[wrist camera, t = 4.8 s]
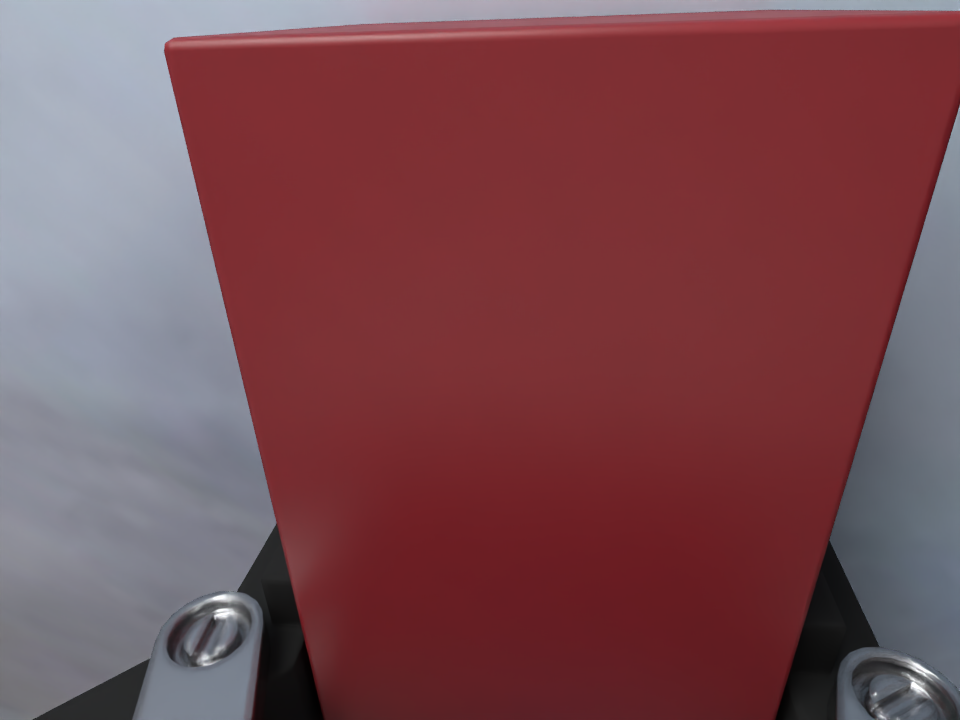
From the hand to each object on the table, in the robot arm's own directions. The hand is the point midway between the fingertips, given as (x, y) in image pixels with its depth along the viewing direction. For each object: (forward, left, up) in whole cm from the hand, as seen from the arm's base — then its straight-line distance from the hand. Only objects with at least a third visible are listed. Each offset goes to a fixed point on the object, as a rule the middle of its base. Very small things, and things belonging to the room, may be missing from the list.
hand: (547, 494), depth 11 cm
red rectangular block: (0, 0, 0) cm, 0 cm away
